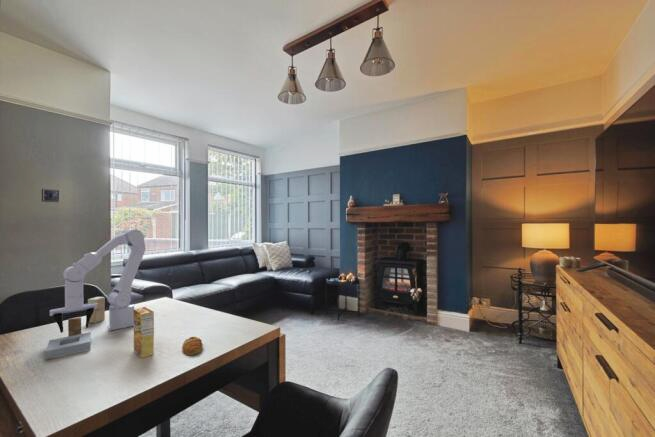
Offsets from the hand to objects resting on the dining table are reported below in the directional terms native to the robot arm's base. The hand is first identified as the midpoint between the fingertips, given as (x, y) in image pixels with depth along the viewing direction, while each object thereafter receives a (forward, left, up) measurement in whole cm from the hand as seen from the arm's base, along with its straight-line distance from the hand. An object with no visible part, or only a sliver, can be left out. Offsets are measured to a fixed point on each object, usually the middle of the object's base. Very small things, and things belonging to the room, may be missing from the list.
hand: (74, 329), depth 119 cm
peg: (0, 0, -4) cm, 4 cm away
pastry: (-35, +43, -4) cm, 55 cm away
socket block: (+1, +12, -4) cm, 13 cm away
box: (-7, -20, -4) cm, 22 cm away
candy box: (-20, +34, -4) cm, 40 cm away
